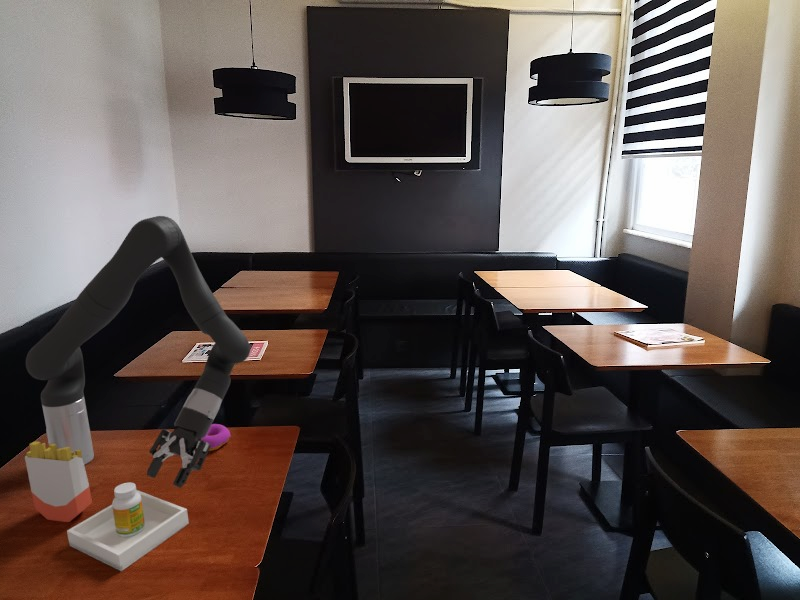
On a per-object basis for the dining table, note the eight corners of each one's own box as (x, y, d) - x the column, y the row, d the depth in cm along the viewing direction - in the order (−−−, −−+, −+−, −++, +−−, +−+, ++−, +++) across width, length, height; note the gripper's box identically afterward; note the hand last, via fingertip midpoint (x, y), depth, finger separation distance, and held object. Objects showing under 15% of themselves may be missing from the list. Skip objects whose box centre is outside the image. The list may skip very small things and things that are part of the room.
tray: (69, 545, 112) (66, 530, 111) (138, 503, 126) (136, 489, 125) (121, 571, 104) (118, 555, 104) (188, 523, 118) (186, 509, 117)
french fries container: (53, 506, 125) (39, 433, 121) (95, 511, 123) (82, 437, 119) (36, 518, 121) (21, 443, 117) (79, 523, 119) (65, 447, 115)
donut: (213, 456, 146) (211, 440, 145) (182, 449, 150) (181, 434, 149) (238, 438, 155) (236, 423, 154) (208, 432, 159) (207, 418, 158)
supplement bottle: (134, 539, 112) (128, 496, 110) (110, 536, 113) (104, 494, 111) (150, 522, 117) (145, 481, 115) (127, 520, 118) (121, 479, 116)
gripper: (166, 400, 129) (129, 468, 121) (211, 412, 122) (174, 485, 115) (187, 412, 134) (153, 478, 127) (231, 424, 128) (197, 494, 121)
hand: (163, 481), depth 121 cm, fingers open, 8 cm apart
